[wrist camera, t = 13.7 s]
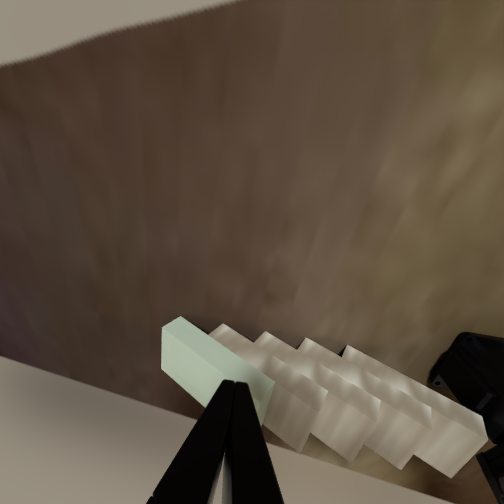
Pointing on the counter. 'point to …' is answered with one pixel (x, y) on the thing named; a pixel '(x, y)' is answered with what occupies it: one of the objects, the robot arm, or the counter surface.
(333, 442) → the domino
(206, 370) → the domino
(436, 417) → the end domino
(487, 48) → the counter surface
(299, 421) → the domino
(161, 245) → the counter surface
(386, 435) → the domino
